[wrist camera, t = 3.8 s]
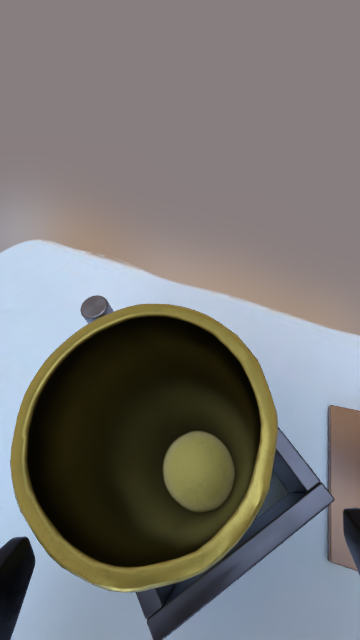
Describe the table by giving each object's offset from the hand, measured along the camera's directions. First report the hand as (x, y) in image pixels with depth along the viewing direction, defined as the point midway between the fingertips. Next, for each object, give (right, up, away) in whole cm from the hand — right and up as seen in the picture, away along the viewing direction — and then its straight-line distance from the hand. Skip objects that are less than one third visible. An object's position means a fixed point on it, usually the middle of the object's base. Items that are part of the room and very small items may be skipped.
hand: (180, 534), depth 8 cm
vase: (+1, -3, +10) cm, 10 cm away
